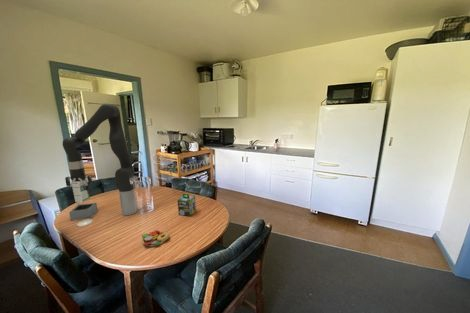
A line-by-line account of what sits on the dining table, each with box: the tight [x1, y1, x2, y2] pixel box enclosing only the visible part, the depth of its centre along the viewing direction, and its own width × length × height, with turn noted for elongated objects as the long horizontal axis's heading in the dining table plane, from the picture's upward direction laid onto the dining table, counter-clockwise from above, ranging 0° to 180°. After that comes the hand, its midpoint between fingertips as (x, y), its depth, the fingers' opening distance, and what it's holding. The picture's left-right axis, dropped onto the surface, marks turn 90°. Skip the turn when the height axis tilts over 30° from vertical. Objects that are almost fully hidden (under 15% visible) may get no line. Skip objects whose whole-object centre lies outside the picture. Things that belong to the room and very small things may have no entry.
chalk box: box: [177, 193, 197, 217], centre depth 135 cm, size 9×9×15 cm
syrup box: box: [72, 179, 91, 204], centre depth 130 cm, size 6×6×14 cm
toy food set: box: [141, 229, 171, 247], centre depth 106 cm, size 13×13×3 cm
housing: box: [68, 201, 99, 221], centre depth 133 cm, size 11×11×6 cm
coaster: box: [76, 218, 94, 228], centre depth 123 cm, size 8×8×1 cm
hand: (80, 190), depth 130 cm, fingers closed on syrup box, 7 cm apart
